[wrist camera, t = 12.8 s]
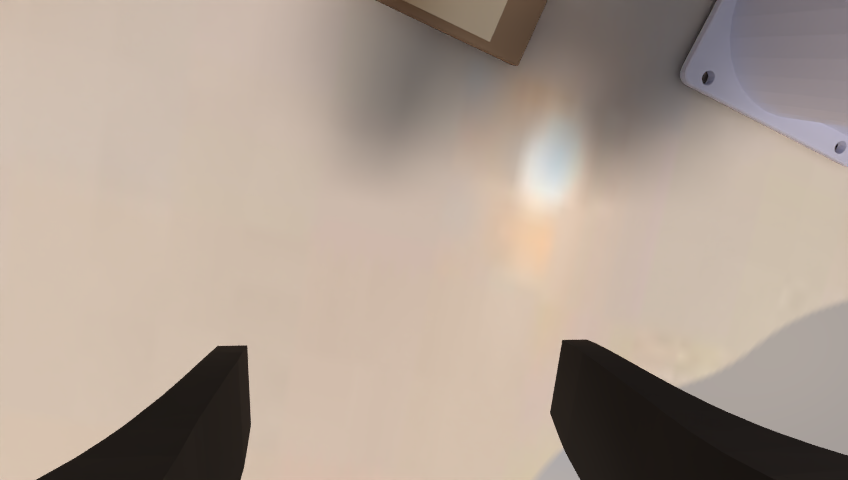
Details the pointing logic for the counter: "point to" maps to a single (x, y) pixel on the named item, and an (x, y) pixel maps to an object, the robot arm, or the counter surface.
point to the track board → (479, 22)
